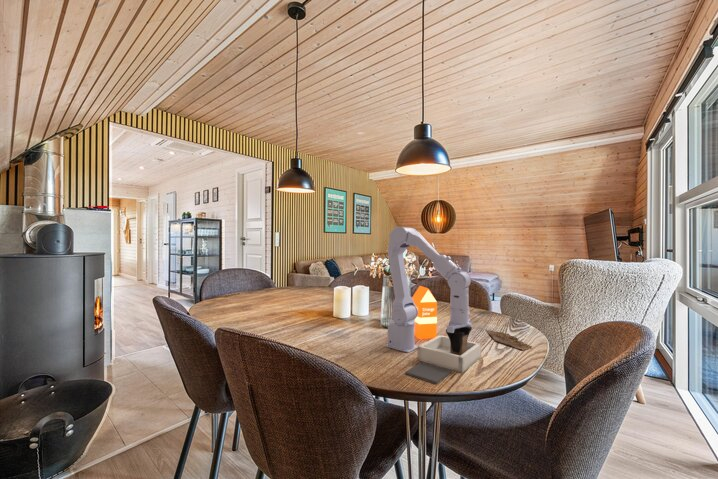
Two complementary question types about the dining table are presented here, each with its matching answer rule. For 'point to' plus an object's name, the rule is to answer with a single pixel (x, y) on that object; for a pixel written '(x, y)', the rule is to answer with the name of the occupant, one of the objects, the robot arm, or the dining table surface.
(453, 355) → the box
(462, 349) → the walnut block
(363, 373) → the dining table surface
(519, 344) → the wooden fragment
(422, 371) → the place mat
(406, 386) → the dining table surface
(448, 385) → the dining table surface
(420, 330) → the orange juice
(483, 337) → the dining table surface
